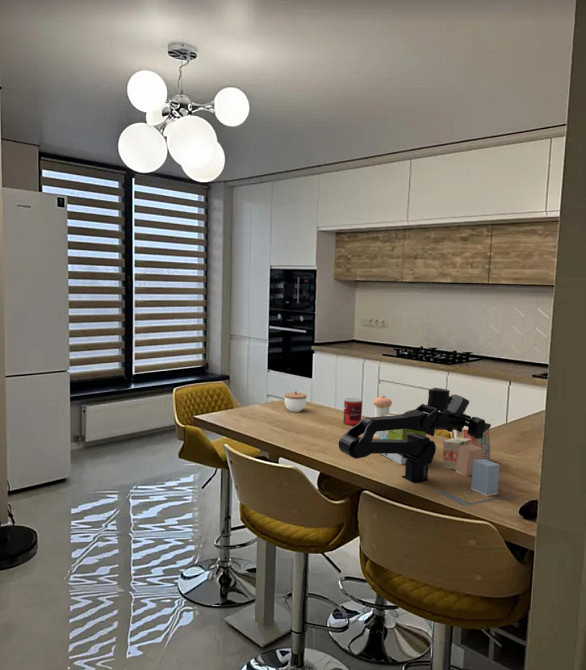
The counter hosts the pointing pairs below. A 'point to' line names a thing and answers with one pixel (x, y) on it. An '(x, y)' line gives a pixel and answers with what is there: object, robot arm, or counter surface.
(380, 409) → the salt shaker
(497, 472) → the slate blue block
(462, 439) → the stack of blocks
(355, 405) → the canned food
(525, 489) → the counter surface
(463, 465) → the dusty pink block
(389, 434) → the tea box
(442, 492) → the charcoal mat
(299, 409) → the lidded jar
